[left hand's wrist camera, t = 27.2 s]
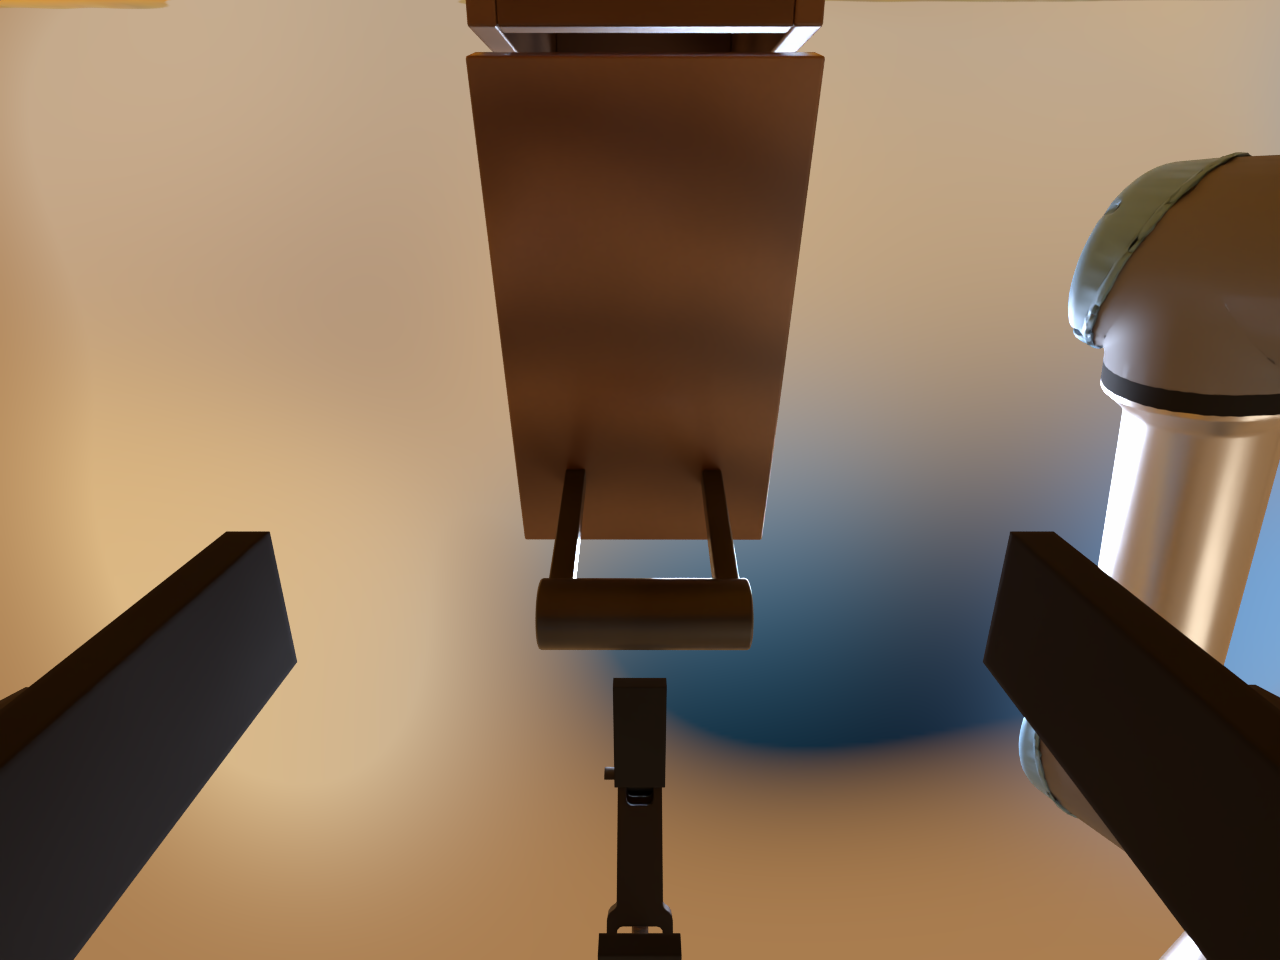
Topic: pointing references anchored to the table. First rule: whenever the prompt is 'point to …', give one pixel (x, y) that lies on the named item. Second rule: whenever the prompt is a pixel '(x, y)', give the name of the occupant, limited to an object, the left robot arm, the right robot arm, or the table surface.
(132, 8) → the table surface
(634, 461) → the lid
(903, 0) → the table surface
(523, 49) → the chest
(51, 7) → the table surface
